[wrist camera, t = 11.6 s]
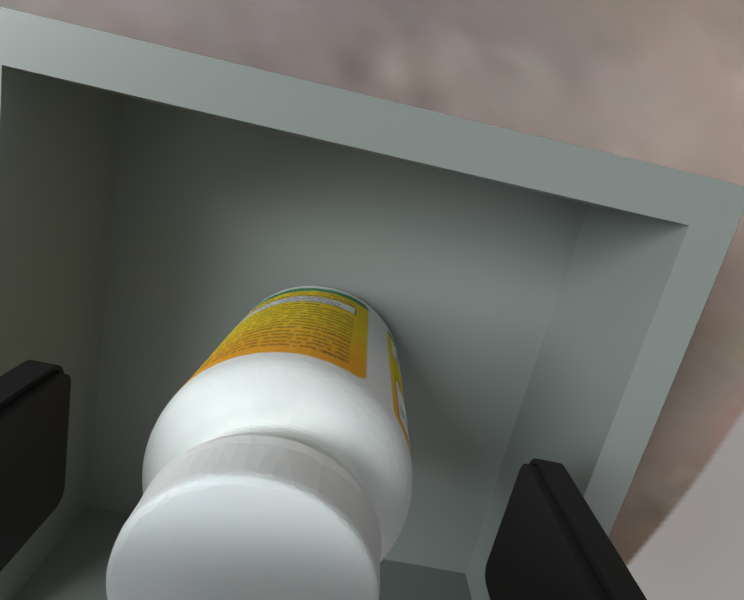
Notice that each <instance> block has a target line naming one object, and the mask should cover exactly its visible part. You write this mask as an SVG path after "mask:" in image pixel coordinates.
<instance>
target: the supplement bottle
mask: <svg viewBox="0 0 744 600" xmlns="http://www.w3.org/2000/svg"><path fill="white" fill-rule="evenodd" d="M412 485H413V471H412V459H411V449H410V441H409V434H408V427H407V418H406V410H405V405H404V396H403V388H402V378H401V371H400V364H399V359H398V354H397V349H396V345H395V342H394V339H393V337H392V334H391V332H390V330H389V329H388V327H387V325H386V324H385V322H384V321H383V320H382V318H381V317H380V316H379V315H378V314H377V313H376V312H375V310H374V309H373V308H371V307H370V306H369V305H368V304H366V303H365V302H364V301H362V300H361V299H359V298H358V297H356V296H354V295H352V294H350V293H347V292H344V291H341V290H337V289H334V288H328V287H322V286H300V287H294V288H289V289H286V290H283V291H280V292H278V293H276V294H274V295H271V296H269V297H268V298H266V299H265V300H263V301H262V302H261V303H259V304H258V305H257V306H256V307H255V308H253V309H252V310H251V311H250V313H249V314H248V315H247V316H246V317H245V318H244V319H243V320H242V321H241V322H240V323H239V324H238V325H237V326H236V327H235V328H234V329H233V331H232V332H231V333H230V334H229V335H228V336H227V337H226V338H225V340H224V341H223V342H222V343H221V344H220V345H219V347H218V348H217V349H216V350H215V351H214V352H213V353H212V354H211V356H210V357H209V358H208V359H207V360H206V361H205V362H204V363H203V364H202V366H201V367H200V368H199V369H198V370H197V371H196V372H195V373H194V374H193V376H192V377H191V378H190V379H189V380H188V381H187V382H186V383H185V384H184V385H183V386H182V388H181V389H180V390H179V391H178V392H177V393H176V394H175V395H174V397H173V398H172V399H171V401H170V402H169V403H168V404H167V406H166V407H165V408H164V410H163V411H162V413H161V415H160V416H159V418H158V420H157V422H156V424H155V426H154V428H153V430H152V432H151V434H150V437H149V440H148V443H147V447H146V451H145V455H144V461H143V469H142V488H143V496H142V498H141V500H140V501H139V503H138V504H137V506H136V507H135V509H134V510H133V512H132V513H131V515H130V516H129V518H128V519H127V521H126V522H125V524H124V525H123V527H122V529H121V531H120V533H119V535H118V537H117V539H116V541H115V544H114V546H113V548H112V552H111V555H110V558H109V562H108V566H107V571H106V594H107V600H379V594H380V562H381V561H382V560H383V559H384V557H385V556H386V555H387V554H388V552H389V551H390V549H391V548H392V546H393V545H394V543H395V542H396V540H397V538H398V536H399V535H400V533H401V531H402V528H403V526H404V524H405V521H406V518H407V514H408V511H409V507H410V502H411V496H412Z"/></svg>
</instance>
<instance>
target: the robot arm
mask: <svg viewBox="0 0 744 600" xmlns="http://www.w3.org/2000/svg"><path fill="white" fill-rule="evenodd" d="M70 392H71V378H70V376H69V375H68V374H64V371H63V368H62V367H61V366H60V365H56V364H50V363H45V362H40V361H35V360H27V361H24V362H23V363H21V364H19V365H18V366H16V367H15V368H13V369H11V370H10V371H8V372H6V373H5V374H3V375H2V376H0V572H1V571H2V569H3V568H4V567H5V566H6V565H7V564H8V563H9V561H10V560H11V559H12V558H13V557H14V556H15V555H16V553H17V552H18V551H19V550H20V549H21V548H22V547H23V545H24V544H25V543H26V542H27V541H28V540H29V538H30V537H31V536H32V535H33V534H34V533H35V532H36V530H37V529H38V528H39V527H40V526H41V525H42V524H43V522H44V521H45V520H46V519H47V518H48V517H49V516H50V514H51V513H52V512H53V511H54V510H55V509H56V507H57V506H58V504H59V503H60V501H61V498H62V496H63V493H64V488H65V474H66V458H67V441H68V425H69V409H70ZM485 582H486V587H487V590H488V594H489V598H490V600H647V599H646V598H645V596H644V594H643V593H642V591H641V589H640V588H639V586H638V585H637V583H636V582H635V580H634V578H633V577H632V575H631V573H630V572H629V570H628V568H627V567H626V565H625V564H624V562H623V560H622V559H621V557H620V556H619V554H618V552H617V551H616V549H615V547H614V546H613V544H612V543H611V541H610V539H609V538H608V536H607V535H606V533H605V531H604V530H603V528H602V526H601V525H600V523H599V522H598V520H597V518H596V517H595V515H594V514H593V512H592V510H591V509H590V507H589V505H588V504H587V502H586V501H585V499H584V497H583V496H582V494H581V493H580V491H579V489H578V488H577V486H576V484H575V483H574V481H573V480H572V478H571V476H570V475H569V473H568V471H567V470H566V468H565V467H564V466H563V464H561V463H557V462H552V461H547V460H542V459H537V458H534V459H532V460H531V461H530V463H529V464H526V463H525V464H523V465H522V466H521V468H520V470H519V473H518V476H517V479H516V481H515V484H514V487H513V490H512V493H511V496H510V498H509V501H508V504H507V507H506V510H505V512H504V515H503V518H502V521H501V524H500V527H499V529H498V532H497V535H496V538H495V541H494V543H493V546H492V549H491V552H490V555H489V558H488V560H487V564H486V568H485Z"/></svg>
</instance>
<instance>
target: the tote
mask: <svg viewBox="0 0 744 600" xmlns="http://www.w3.org/2000/svg"><path fill="white" fill-rule="evenodd" d="M743 212H744V186H742V185H738V184H733V183H729V182H725V181H721V180H717V179H713V178H708V177H704V176H700V175H696V174H692V173H688V172H684V171H679V170H675V169H671V168H667V167H663V166H659V165H655V164H650V163H646V162H642V161H638V160H634V159H630V158H626V157H621V156H617V155H613V154H609V153H605V152H601V151H596V150H592V149H588V148H584V147H580V146H576V145H572V144H567V143H563V142H559V141H555V140H551V139H547V138H543V137H538V136H534V135H530V134H526V133H522V132H518V131H514V130H509V129H505V128H501V127H497V126H493V125H489V124H485V123H480V122H476V121H472V120H468V119H464V118H460V117H455V116H451V115H447V114H443V113H439V112H435V111H431V110H426V109H422V108H418V107H414V106H410V105H406V104H402V103H397V102H393V101H389V100H385V99H381V98H377V97H373V96H368V95H364V94H360V93H356V92H352V91H348V90H343V89H339V88H335V87H331V86H327V85H323V84H319V83H314V82H310V81H306V80H302V79H298V78H294V77H290V76H285V75H281V74H277V73H273V72H269V71H265V70H261V69H256V68H252V67H248V66H244V65H240V64H236V63H232V62H227V61H223V60H219V59H215V58H211V57H207V56H202V55H198V54H194V53H190V52H186V51H182V50H178V49H173V48H169V47H165V46H161V45H157V44H153V43H149V42H144V41H140V40H136V39H132V38H128V37H124V36H120V35H115V34H111V33H107V32H103V31H99V30H95V29H90V28H86V27H82V26H78V25H74V24H70V23H66V22H61V21H57V20H53V19H49V18H45V17H41V16H37V15H32V14H28V13H24V12H20V11H16V10H12V9H8V8H3V7H0V376H2V375H3V374H5V373H6V372H8V371H10V370H11V369H13V368H15V367H16V366H18V365H19V364H21V363H23V362H24V361H27V360H35V361H40V362H45V363H50V364H56V365H60V366H61V367H62V368H63V371H64V374H68V375H69V376H70V378H71V392H70V409H69V425H68V441H67V458H66V474H65V488H64V493H63V496H62V498H61V501H60V503H59V504H58V506H57V507H56V509H55V510H54V511H53V512H52V513H51V514H50V516H49V517H48V518H47V519H46V520H45V521H44V522H43V524H42V525H41V526H40V527H39V528H38V529H37V530H36V532H35V533H34V534H33V535H32V536H31V537H30V538H29V540H28V541H27V542H26V543H25V544H24V545H23V547H22V548H21V549H20V550H19V551H18V552H17V553H16V555H15V556H14V557H13V558H12V559H11V560H10V561H9V563H8V564H7V565H6V566H5V567H4V568H3V569H2V571H1V572H0V600H107V594H106V571H107V566H108V562H109V558H110V555H111V552H112V548H113V546H114V544H115V541H116V539H117V537H118V535H119V533H120V531H121V529H122V527H123V525H124V524H125V522H126V521H127V519H128V518H129V516H130V515H131V513H132V512H133V510H134V509H135V507H136V506H137V504H138V503H139V501H140V500H141V498H142V496H143V488H142V469H143V461H144V455H145V451H146V447H147V443H148V440H149V437H150V434H151V432H152V430H153V428H154V426H155V424H156V422H157V420H158V418H159V416H160V415H161V413H162V411H163V410H164V408H165V407H166V406H167V404H168V403H169V402H170V401H171V399H172V398H173V397H174V395H175V394H176V393H177V392H178V391H179V390H180V389H181V388H182V386H183V385H184V384H185V383H186V382H187V381H188V380H189V379H190V378H191V377H192V376H193V374H194V373H195V372H196V371H197V370H198V369H199V368H200V367H201V366H202V364H203V363H204V362H205V361H206V360H207V359H208V358H209V357H210V356H211V354H212V353H213V352H214V351H215V350H216V349H217V348H218V347H219V345H220V344H221V343H222V342H223V341H224V340H225V338H226V337H227V336H228V335H229V334H230V333H231V332H232V331H233V329H234V328H235V327H236V326H237V325H238V324H239V323H240V322H241V321H242V320H243V319H244V318H245V317H246V316H247V315H248V314H249V313H250V311H251V310H252V309H253V308H255V307H256V306H257V305H258V304H259V303H261V302H262V301H263V300H265V299H266V298H268V297H269V296H271V295H274V294H276V293H278V292H280V291H283V290H286V289H289V288H294V287H300V286H322V287H328V288H334V289H337V290H341V291H344V292H347V293H350V294H352V295H354V296H356V297H358V298H359V299H361V300H362V301H364V302H365V303H366V304H368V305H369V306H370V307H371V308H373V309H374V310H375V312H376V313H377V314H378V315H379V316H380V317H381V318H382V320H383V321H384V322H385V324H386V325H387V327H388V329H389V330H390V332H391V334H392V337H393V339H394V342H395V345H396V349H397V354H398V359H399V364H400V371H401V378H402V388H403V396H404V405H405V410H406V418H407V427H408V434H409V441H410V449H411V459H412V471H413V485H412V496H411V502H410V507H409V511H408V514H407V518H406V521H405V524H404V526H403V528H402V531H401V533H400V535H399V536H398V538H397V540H396V542H395V543H394V545H393V546H392V548H391V549H390V551H389V552H388V554H387V555H386V556H385V557H384V559H383V560H382V561H381V562H380V594H379V600H490V598H489V594H488V590H487V587H486V582H485V568H486V564H487V560H488V558H489V555H490V552H491V549H492V546H493V543H494V541H495V538H496V535H497V532H498V529H499V527H500V524H501V521H502V518H503V515H504V512H505V510H506V507H507V504H508V501H509V498H510V496H511V493H512V490H513V487H514V484H515V481H516V479H517V476H518V473H519V470H520V468H521V466H522V465H523V464H525V463H526V464H529V463H530V461H531V460H532V459H534V458H537V459H542V460H547V461H552V462H557V463H561V464H563V466H564V467H565V468H566V470H567V471H568V473H569V475H570V476H571V478H572V480H573V481H574V483H575V484H576V486H577V488H578V489H579V491H580V493H581V494H582V496H583V497H584V499H585V501H586V502H587V504H588V505H589V507H590V509H591V510H592V512H593V514H594V515H595V517H596V518H597V520H598V522H599V523H600V525H601V526H602V528H603V530H604V531H605V533H606V535H607V536H608V538H609V535H610V533H611V530H612V528H613V525H614V523H615V521H616V518H617V516H618V513H619V511H620V509H621V506H622V504H623V501H624V499H625V497H626V494H627V492H628V489H629V487H630V484H631V482H632V480H633V477H634V475H635V472H636V470H637V468H638V465H639V463H640V460H641V458H642V455H643V453H644V451H645V448H646V446H647V443H648V441H649V439H650V436H651V434H652V431H653V429H654V426H655V424H656V422H657V419H658V417H659V414H660V412H661V410H662V407H663V405H664V402H665V400H666V398H667V395H668V393H669V390H670V388H671V385H672V383H673V381H674V378H675V376H676V373H677V371H678V369H679V366H680V364H681V361H682V359H683V356H684V354H685V352H686V349H687V347H688V344H689V342H690V340H691V337H692V335H693V332H694V330H695V327H696V325H697V323H698V320H699V318H700V315H701V313H702V311H703V308H704V306H705V303H706V301H707V299H708V296H709V294H710V291H711V289H712V286H713V284H714V282H715V279H716V277H717V274H718V272H719V270H720V267H721V265H722V262H723V260H724V257H725V255H726V253H727V250H728V248H729V245H730V243H731V241H732V238H733V236H734V233H735V231H736V228H737V226H738V224H739V221H740V219H741V216H742V214H743Z"/></svg>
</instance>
